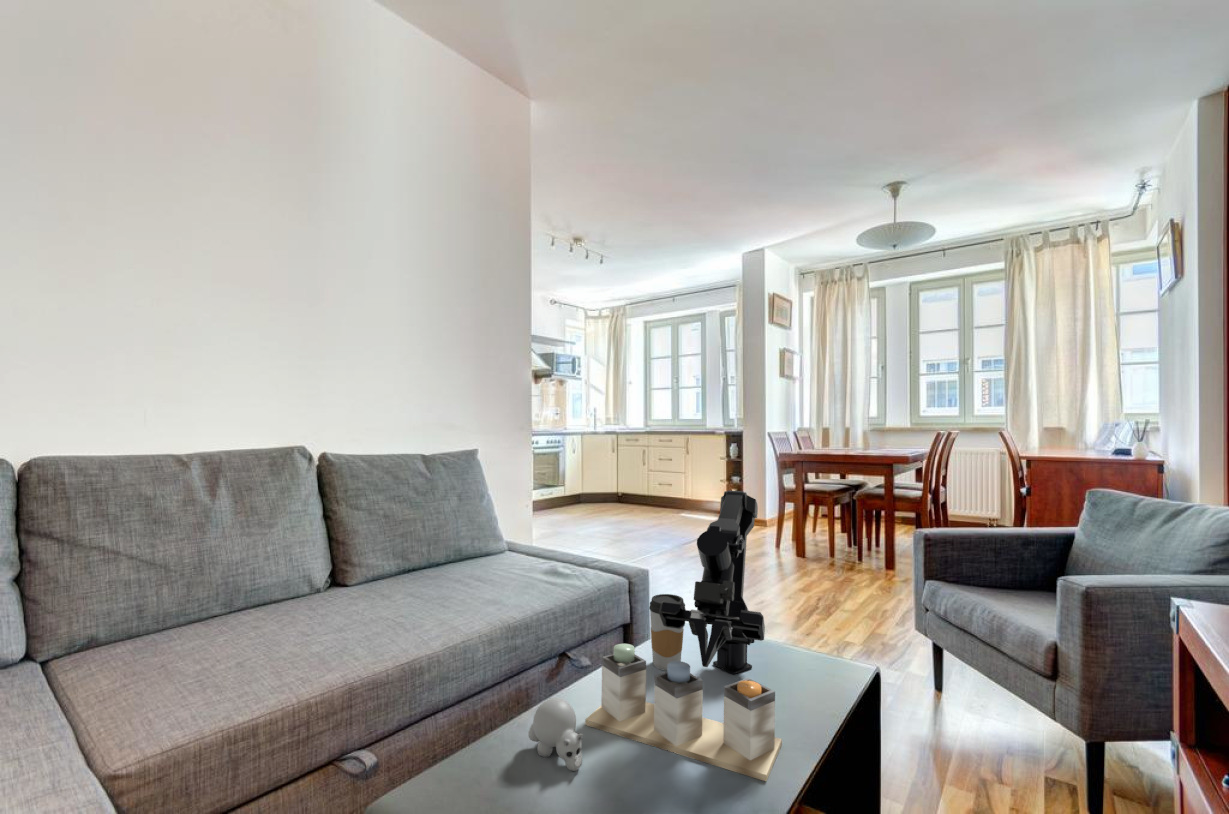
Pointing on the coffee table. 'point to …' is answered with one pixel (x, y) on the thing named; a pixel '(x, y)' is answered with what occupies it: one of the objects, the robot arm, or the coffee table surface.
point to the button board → (691, 748)
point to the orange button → (749, 688)
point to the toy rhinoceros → (557, 732)
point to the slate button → (678, 671)
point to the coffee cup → (664, 634)
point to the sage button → (624, 653)
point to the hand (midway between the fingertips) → (704, 666)
